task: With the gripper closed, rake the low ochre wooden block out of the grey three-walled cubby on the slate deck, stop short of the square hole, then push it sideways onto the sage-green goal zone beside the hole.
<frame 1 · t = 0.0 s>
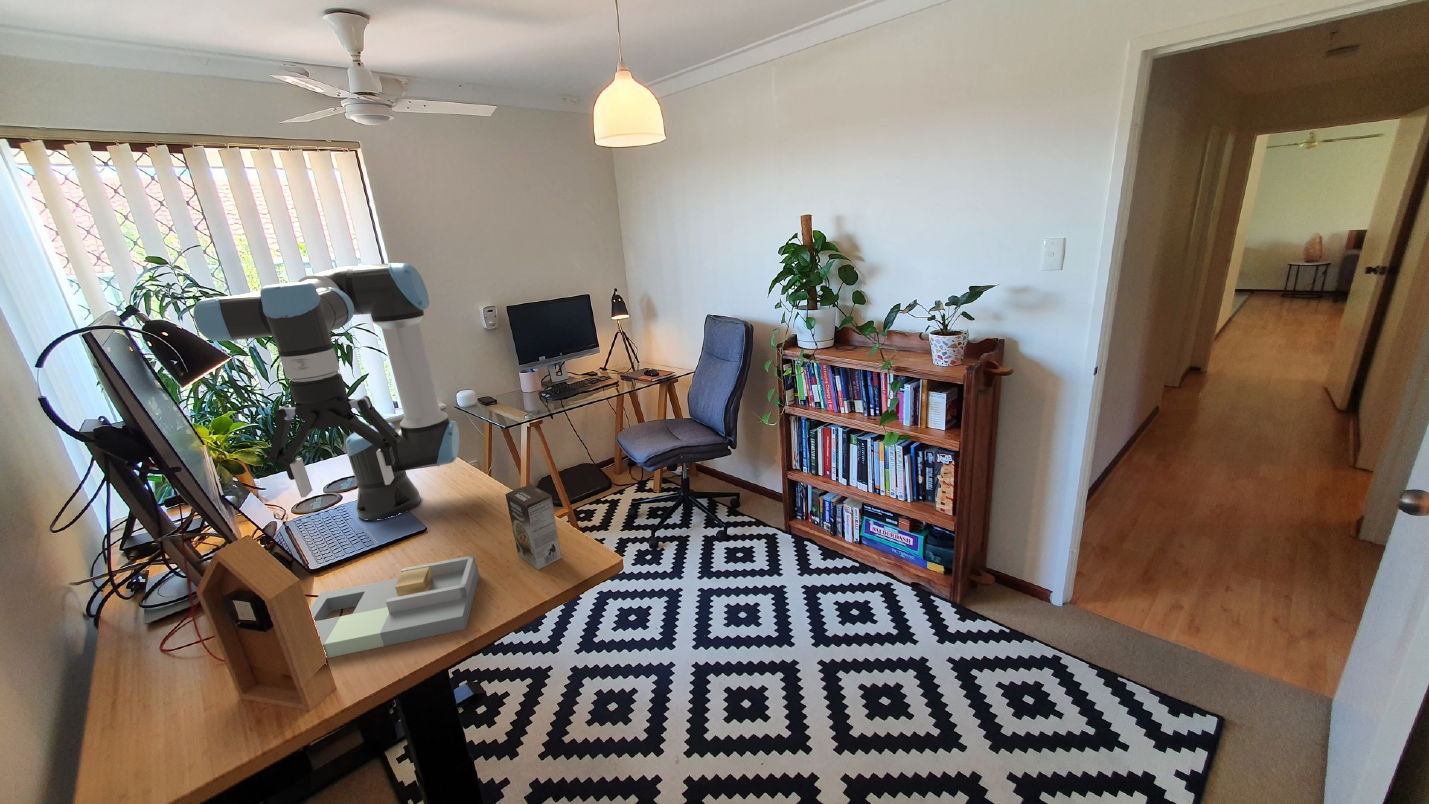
hand: (349, 487, 99), 28 cm above the table, fingers open, 13 cm apart
ochre block: (416, 591, 109), point 3 cm above the table, touching slate deck
coffee box: (539, 557, 123), on the table
slate deck: (392, 616, 107), on the table
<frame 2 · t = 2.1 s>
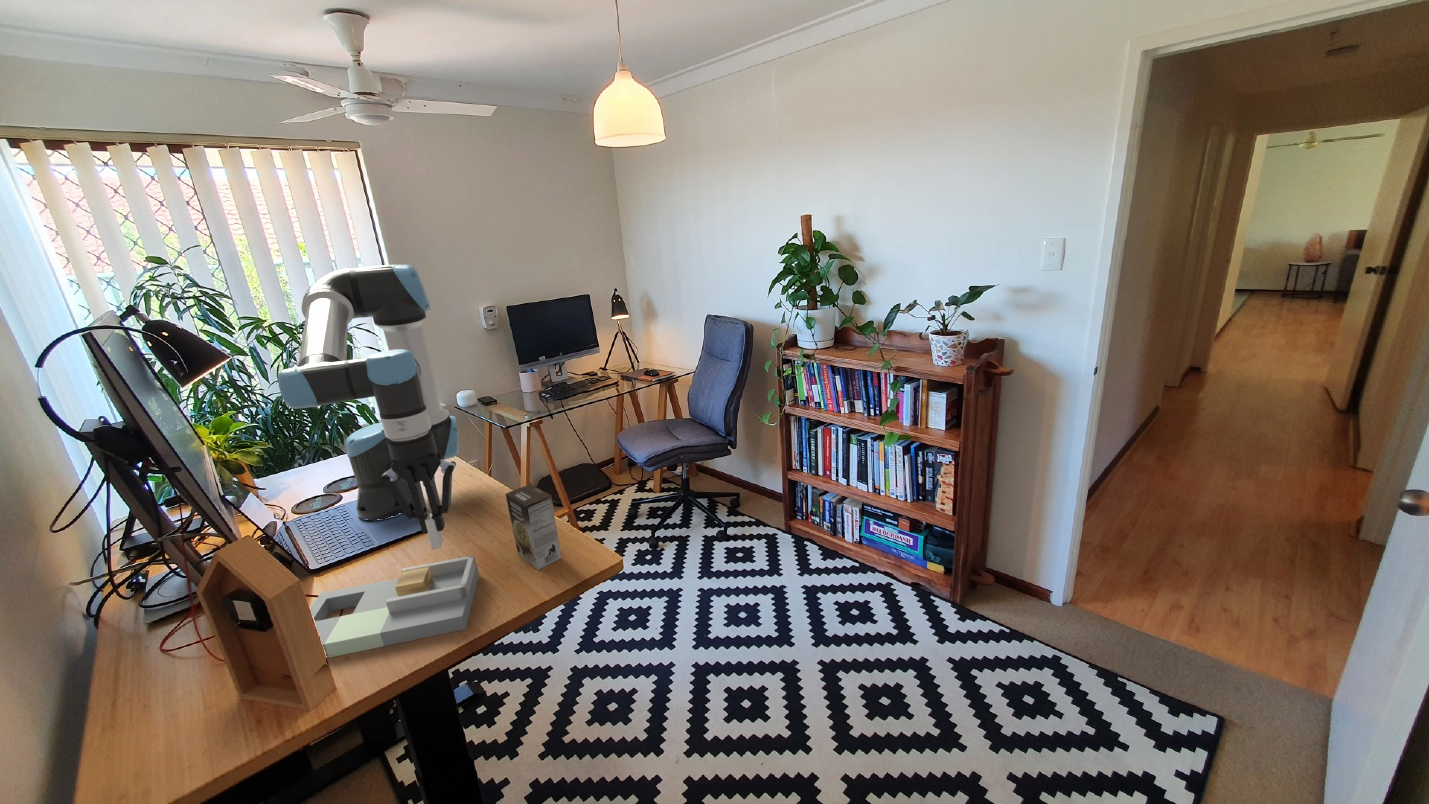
hand: (438, 545, 107), 13 cm above the table, fingers closed
nothing on the table moved.
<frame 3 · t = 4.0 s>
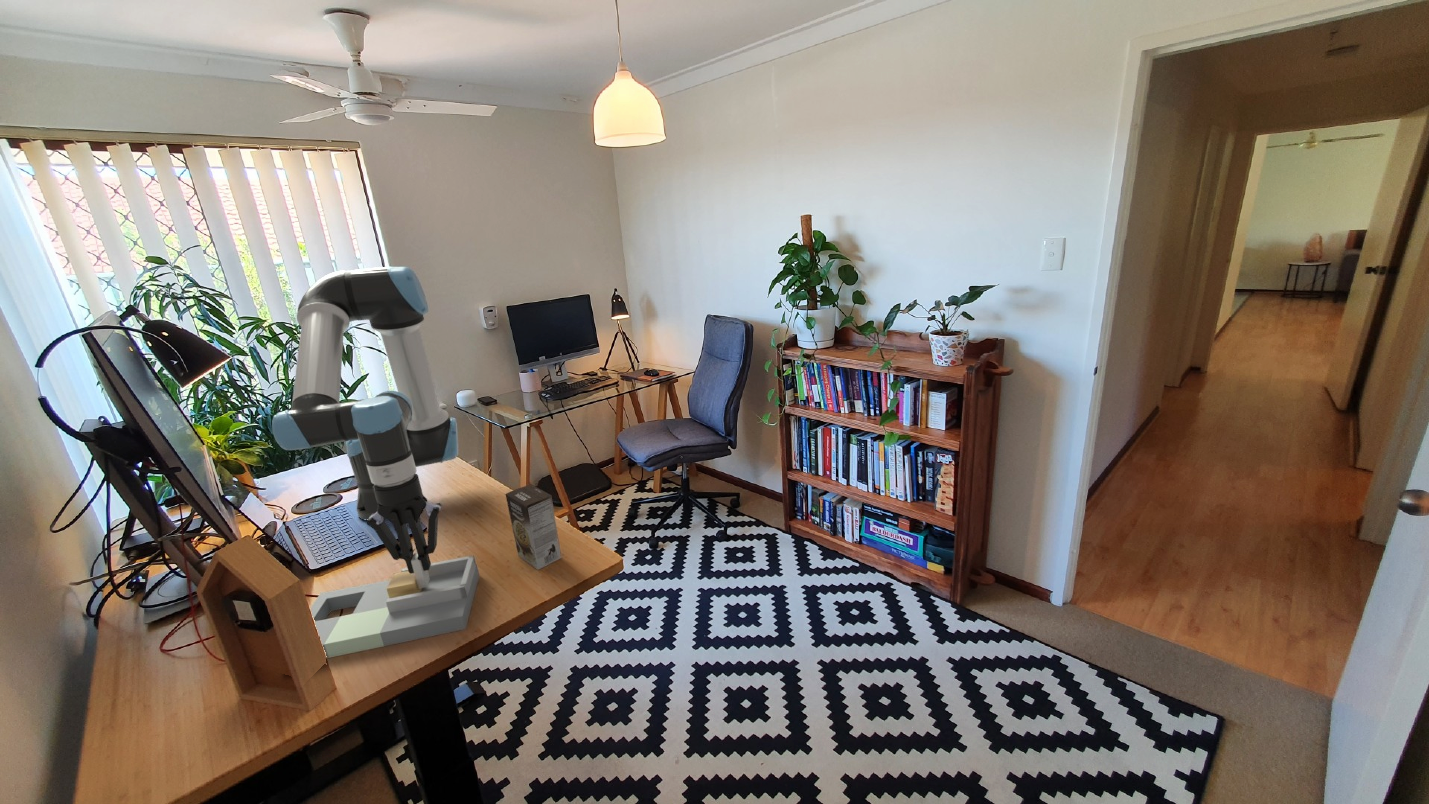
hand: (424, 583, 109), 4 cm above the table, fingers closed
ochre block: (408, 592, 109), point 3 cm above the table, touching gripper, slate deck
everything else where it was.
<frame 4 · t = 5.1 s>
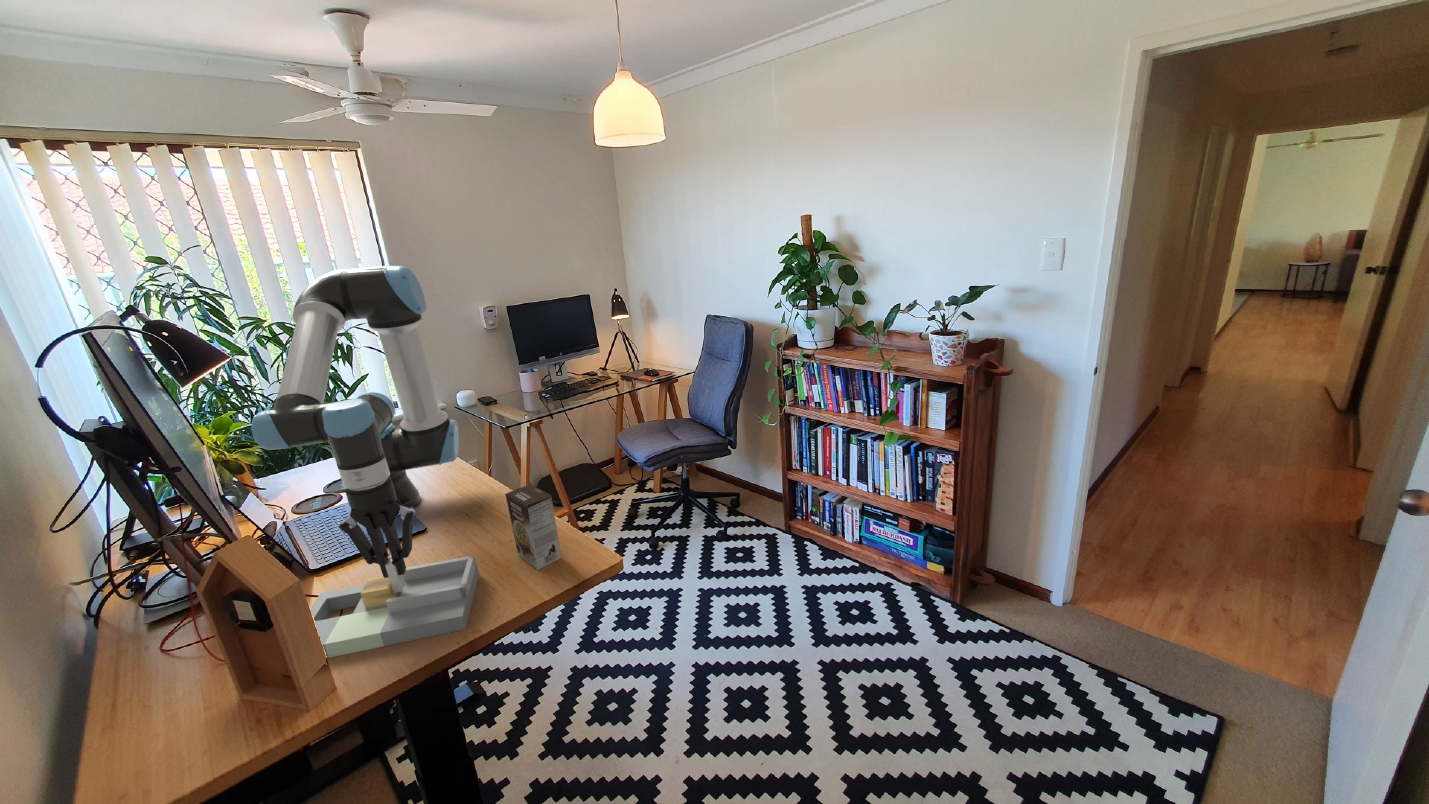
hand: (399, 588, 108), 4 cm above the table, fingers closed
ochre block: (383, 597, 108), point 3 cm above the table, touching gripper, slate deck
everything else where it was.
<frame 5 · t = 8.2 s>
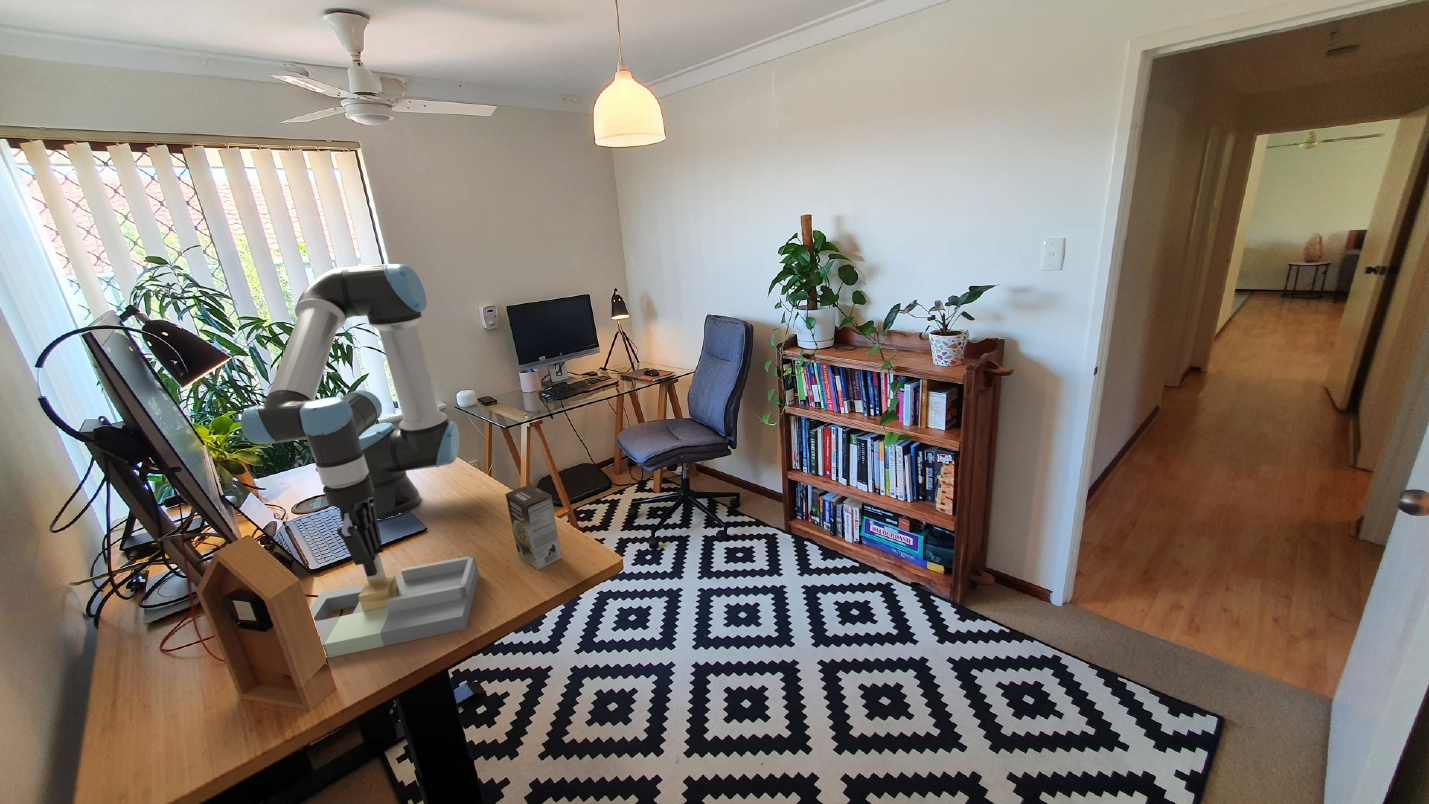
hand: (378, 585, 109), 5 cm above the table, fingers closed
ochre block: (381, 600, 107), point 3 cm above the table, touching gripper
everything else where it was.
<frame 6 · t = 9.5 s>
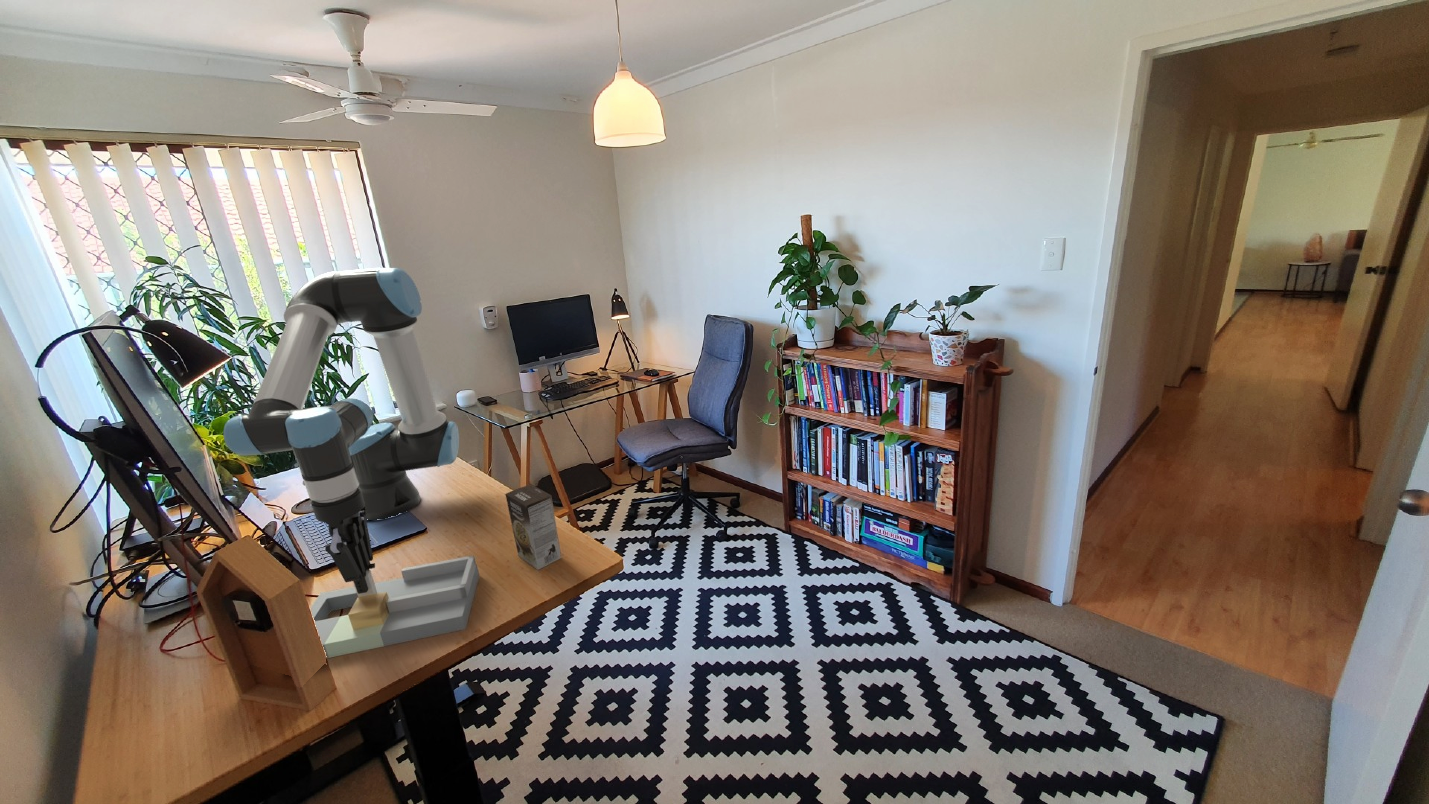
hand: (370, 602, 104), 4 cm above the table, fingers closed
ochre block: (372, 618, 102), point 3 cm above the table, touching gripper, slate deck
everything else where it was.
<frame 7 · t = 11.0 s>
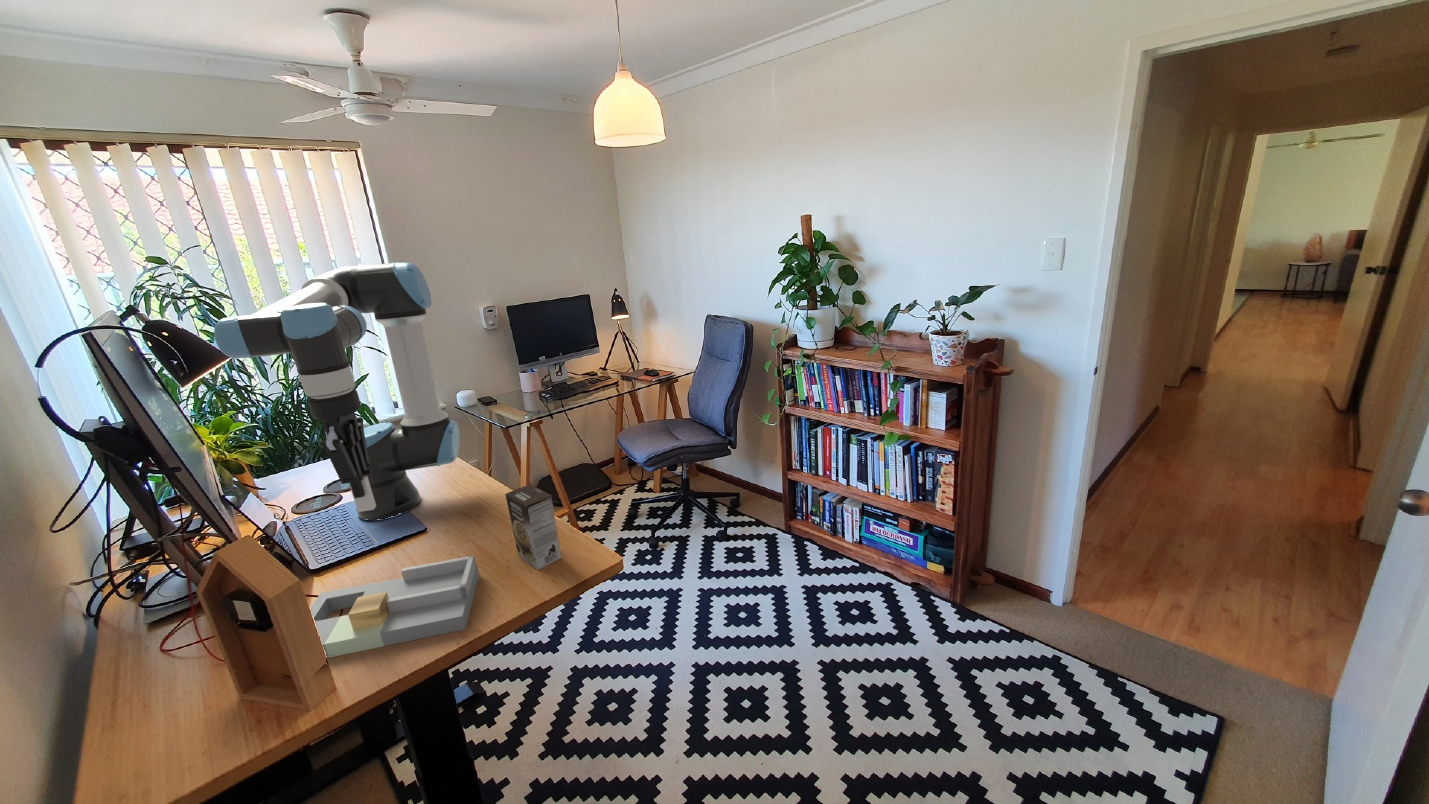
hand: (367, 508, 104), 22 cm above the table, fingers closed
ochre block: (372, 618, 102), point 3 cm above the table, touching slate deck
everything else where it was.
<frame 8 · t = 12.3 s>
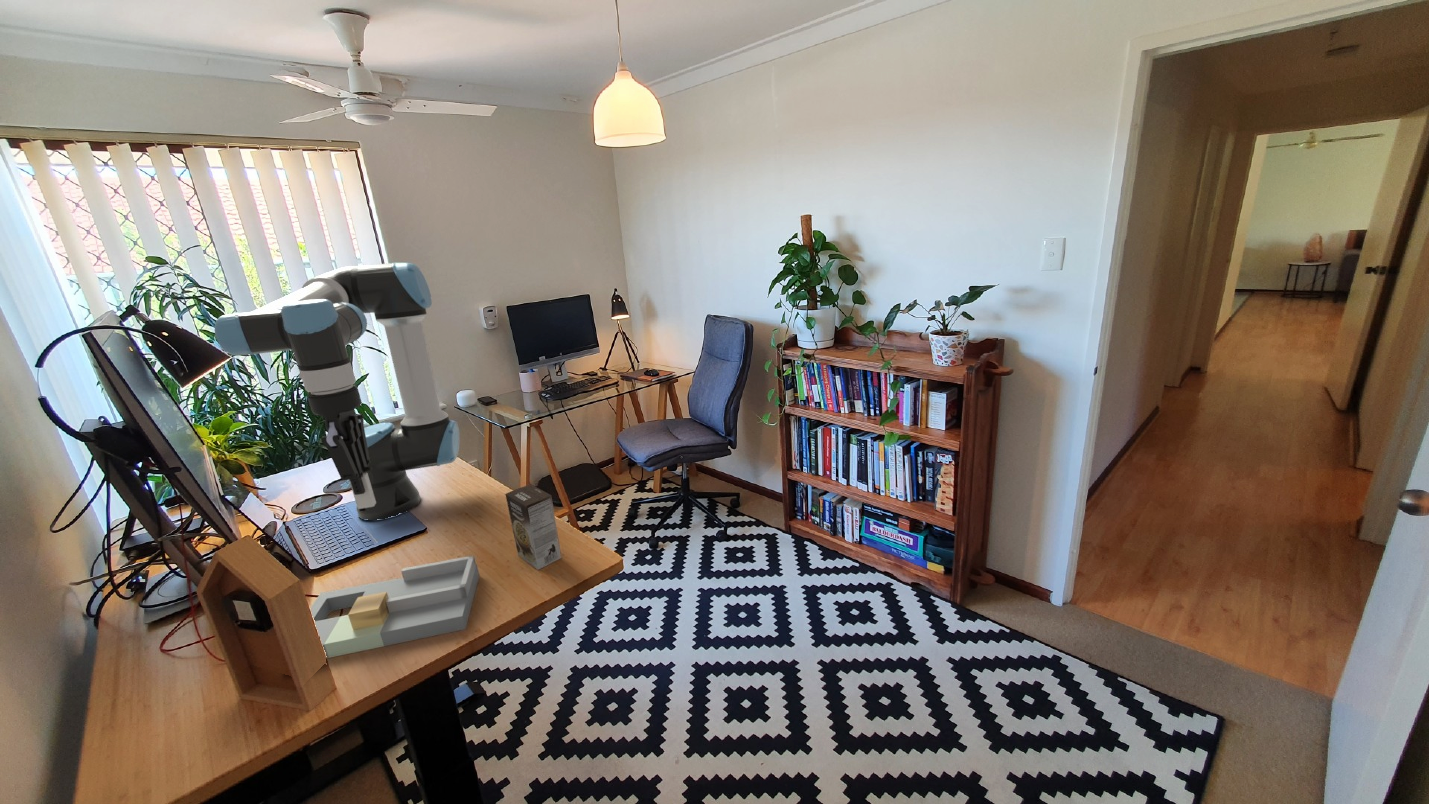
hand: (367, 505, 104), 22 cm above the table, fingers closed
nothing on the table moved.
at the end: ochre block inside the target area (2.2 cm from its centre), point 3.0 cm above the table; ochre block tilted 0° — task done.
